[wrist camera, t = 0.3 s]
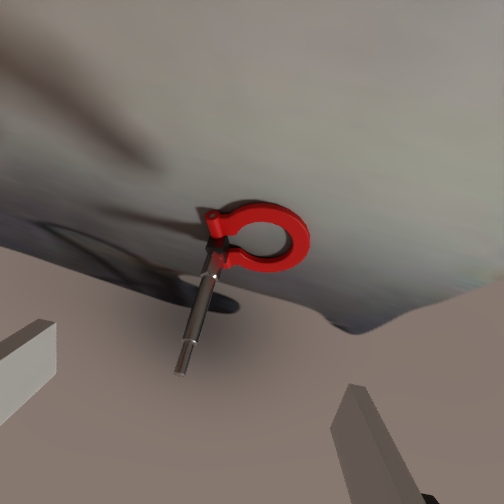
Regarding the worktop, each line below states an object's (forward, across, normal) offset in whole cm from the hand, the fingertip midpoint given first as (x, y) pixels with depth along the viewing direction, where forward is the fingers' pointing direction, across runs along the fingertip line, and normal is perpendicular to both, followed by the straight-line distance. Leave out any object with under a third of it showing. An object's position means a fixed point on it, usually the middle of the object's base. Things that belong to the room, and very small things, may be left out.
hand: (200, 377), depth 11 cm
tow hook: (+16, +2, +4) cm, 16 cm away
